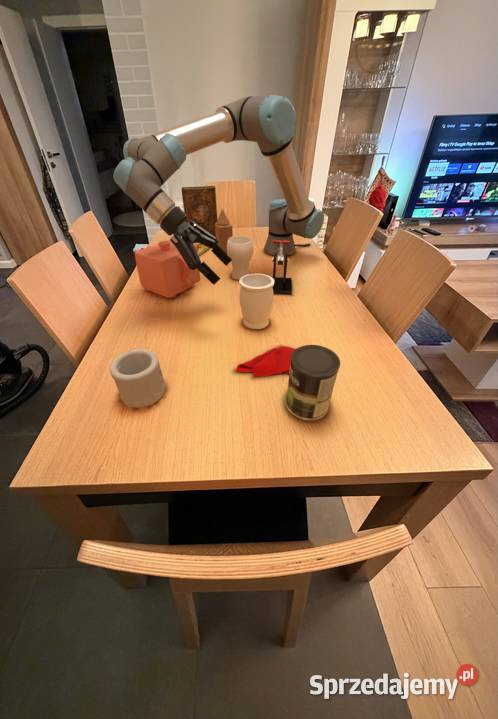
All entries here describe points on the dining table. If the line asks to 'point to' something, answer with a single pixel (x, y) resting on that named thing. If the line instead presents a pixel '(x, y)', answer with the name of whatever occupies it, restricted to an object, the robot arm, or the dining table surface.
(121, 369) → the grey hollow cylinder
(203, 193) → the book
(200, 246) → the pizza slice
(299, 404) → the coffee can
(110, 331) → the dining table surface
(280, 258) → the corkscrew
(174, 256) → the teapot
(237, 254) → the cup
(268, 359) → the cloth
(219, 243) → the decorative item
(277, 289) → the lever stand
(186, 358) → the dining table surface
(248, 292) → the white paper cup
